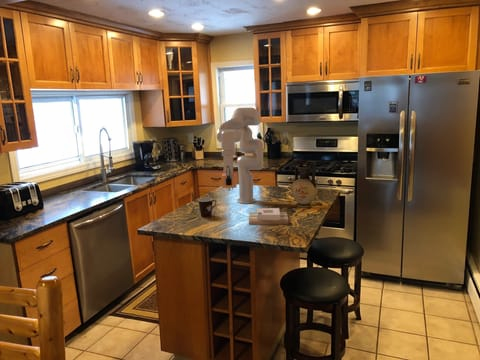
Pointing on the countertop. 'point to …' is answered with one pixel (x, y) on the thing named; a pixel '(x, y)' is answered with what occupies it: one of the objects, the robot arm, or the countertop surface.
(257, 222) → the board
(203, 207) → the coffee mug
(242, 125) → the robot arm
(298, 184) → the amphora
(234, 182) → the orange block
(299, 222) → the countertop surface
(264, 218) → the socket
